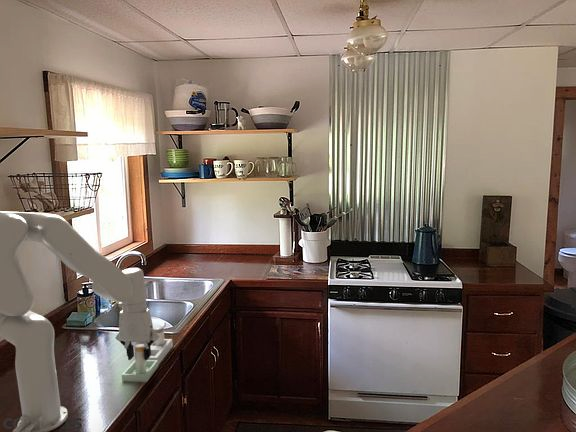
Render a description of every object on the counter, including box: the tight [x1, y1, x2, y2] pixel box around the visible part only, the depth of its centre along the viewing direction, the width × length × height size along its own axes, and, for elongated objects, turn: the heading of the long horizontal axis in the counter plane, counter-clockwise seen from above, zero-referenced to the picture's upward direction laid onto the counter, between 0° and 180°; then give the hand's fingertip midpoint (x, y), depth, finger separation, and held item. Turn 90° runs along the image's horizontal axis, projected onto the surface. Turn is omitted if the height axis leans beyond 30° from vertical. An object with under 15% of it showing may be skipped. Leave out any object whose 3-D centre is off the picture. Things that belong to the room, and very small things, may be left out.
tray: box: [121, 359, 159, 383], centre depth 155 cm, size 10×8×2 cm
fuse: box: [153, 325, 166, 346], centre depth 172 cm, size 4×4×9 cm
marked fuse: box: [134, 343, 147, 374], centre depth 155 cm, size 4×4×9 cm
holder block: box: [148, 338, 174, 366], centre depth 168 cm, size 15×7×3 cm, turn 174°
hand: (139, 357), depth 154 cm, fingers open, 5 cm apart
